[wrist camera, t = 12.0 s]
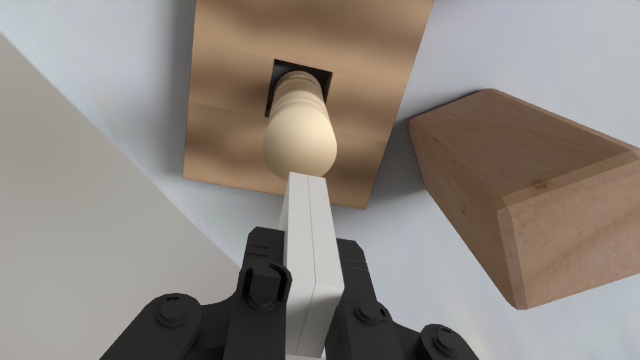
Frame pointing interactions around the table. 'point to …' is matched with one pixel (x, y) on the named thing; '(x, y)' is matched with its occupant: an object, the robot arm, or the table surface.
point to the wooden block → (532, 194)
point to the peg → (299, 128)
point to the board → (309, 50)
